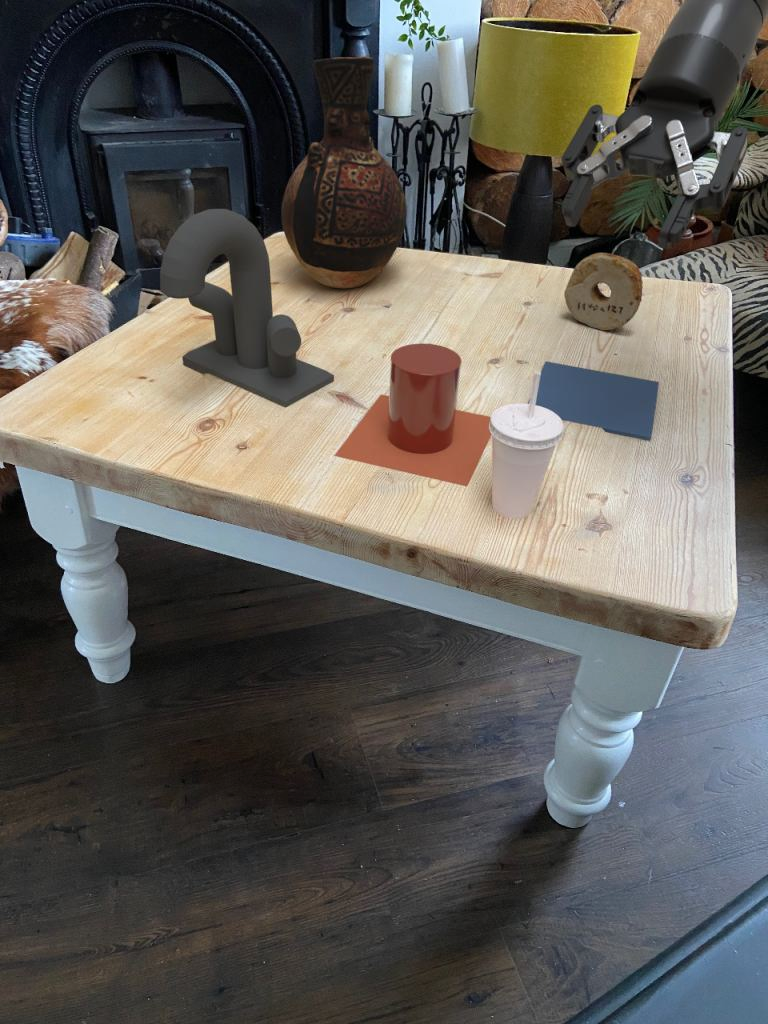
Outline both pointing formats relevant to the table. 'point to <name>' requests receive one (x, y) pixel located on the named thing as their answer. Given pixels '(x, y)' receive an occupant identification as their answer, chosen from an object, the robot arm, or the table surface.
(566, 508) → the table surface
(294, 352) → the faucet
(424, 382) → the canister
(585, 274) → the stone disc
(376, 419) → the terracotta mat
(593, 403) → the blue mat
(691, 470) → the table surface
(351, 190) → the ceramic vessel
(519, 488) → the smoothie
